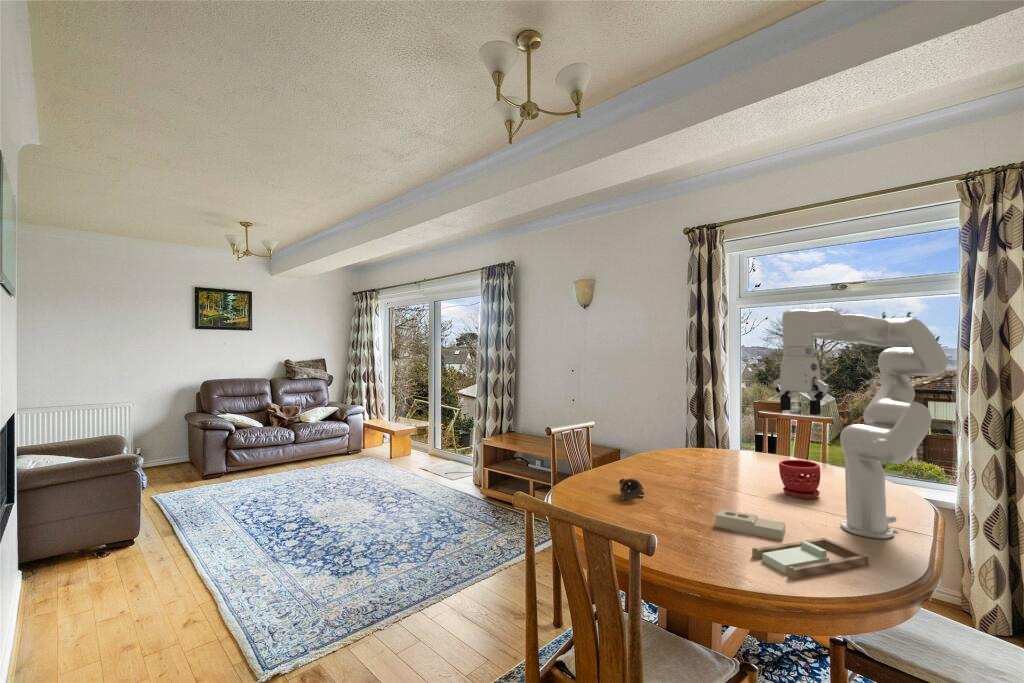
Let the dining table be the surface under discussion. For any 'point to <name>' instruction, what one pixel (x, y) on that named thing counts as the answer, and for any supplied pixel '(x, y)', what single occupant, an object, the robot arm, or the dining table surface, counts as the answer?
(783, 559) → the cover plate
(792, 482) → the plant pot
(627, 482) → the dark turtle figurine
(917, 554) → the dining table surface
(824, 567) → the brown u-shaped frame
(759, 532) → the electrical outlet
